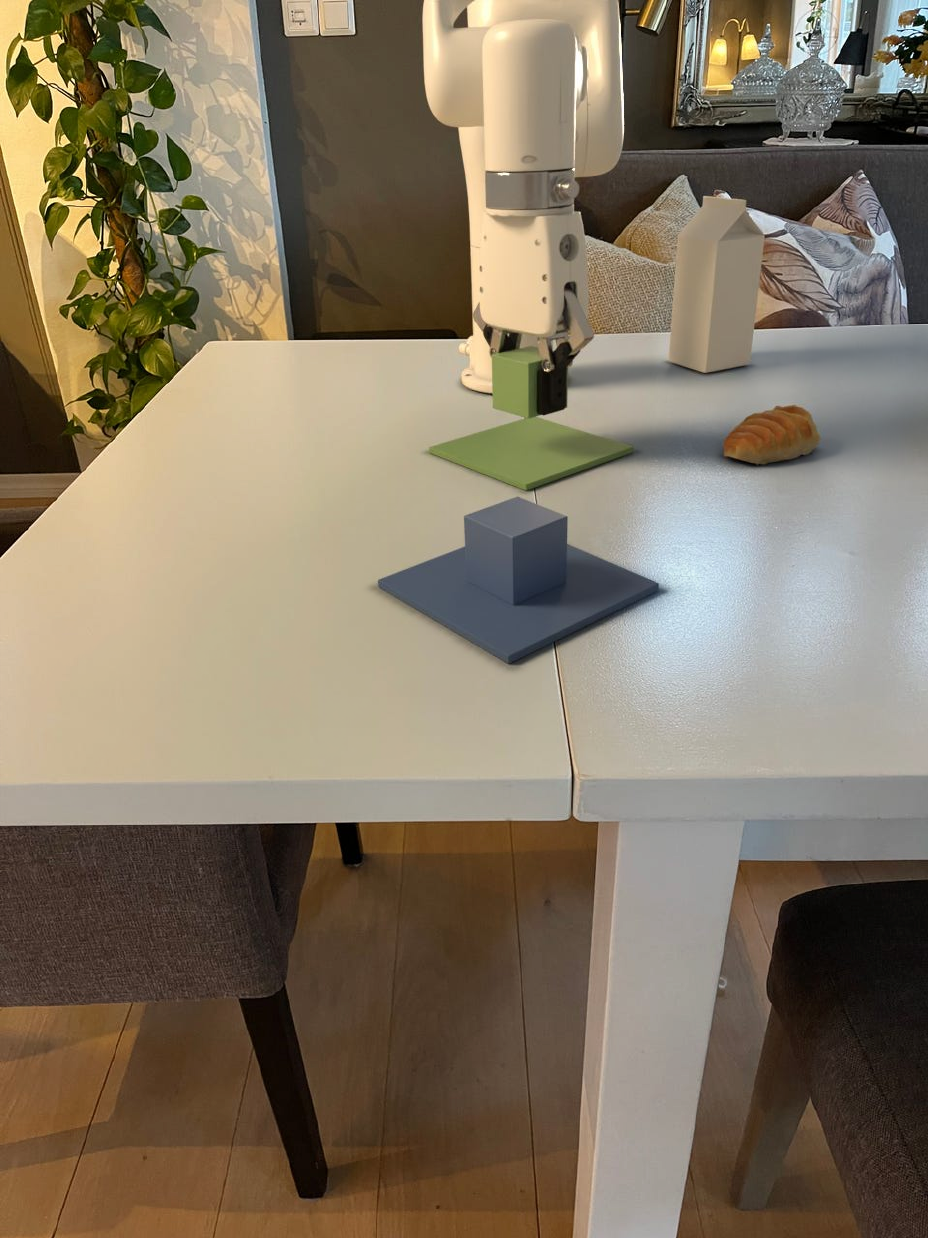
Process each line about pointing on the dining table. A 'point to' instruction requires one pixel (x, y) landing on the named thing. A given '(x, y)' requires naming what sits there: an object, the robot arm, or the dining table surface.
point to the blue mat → (528, 623)
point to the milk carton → (716, 287)
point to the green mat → (530, 452)
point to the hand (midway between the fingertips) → (530, 403)
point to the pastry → (773, 436)
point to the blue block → (516, 549)
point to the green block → (517, 381)
